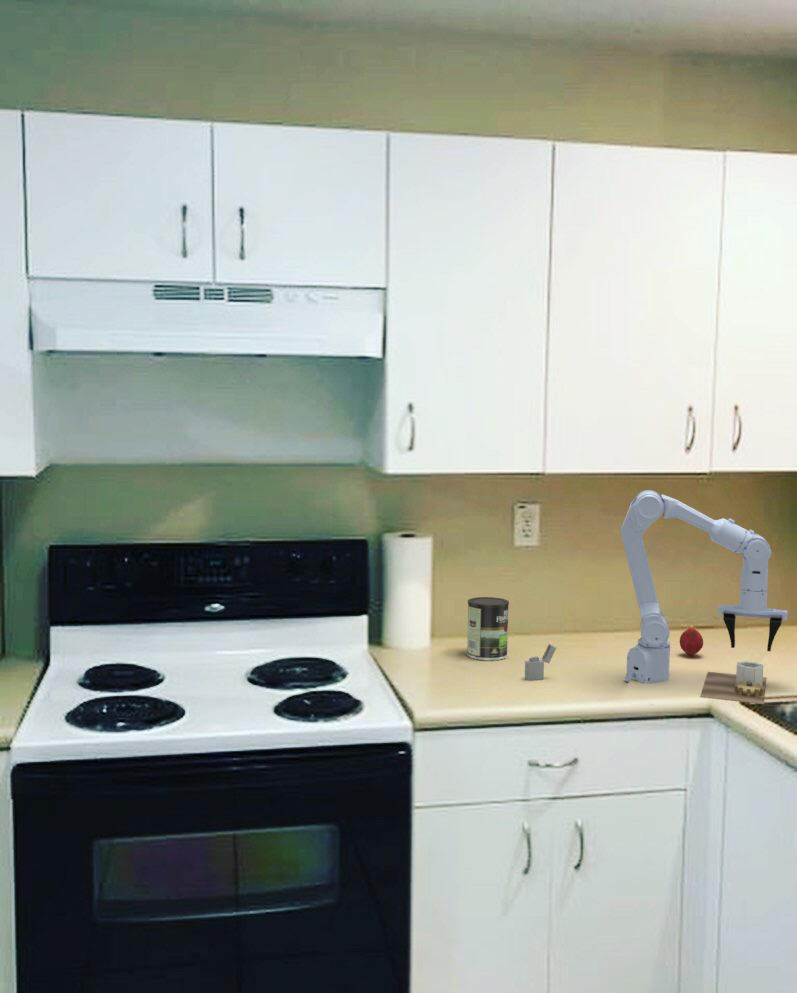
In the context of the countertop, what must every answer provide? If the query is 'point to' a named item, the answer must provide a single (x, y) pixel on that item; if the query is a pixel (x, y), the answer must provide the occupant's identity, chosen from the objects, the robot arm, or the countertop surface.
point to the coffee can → (487, 628)
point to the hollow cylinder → (749, 672)
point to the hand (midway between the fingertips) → (750, 648)
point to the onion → (691, 641)
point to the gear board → (732, 688)
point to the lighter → (538, 665)
